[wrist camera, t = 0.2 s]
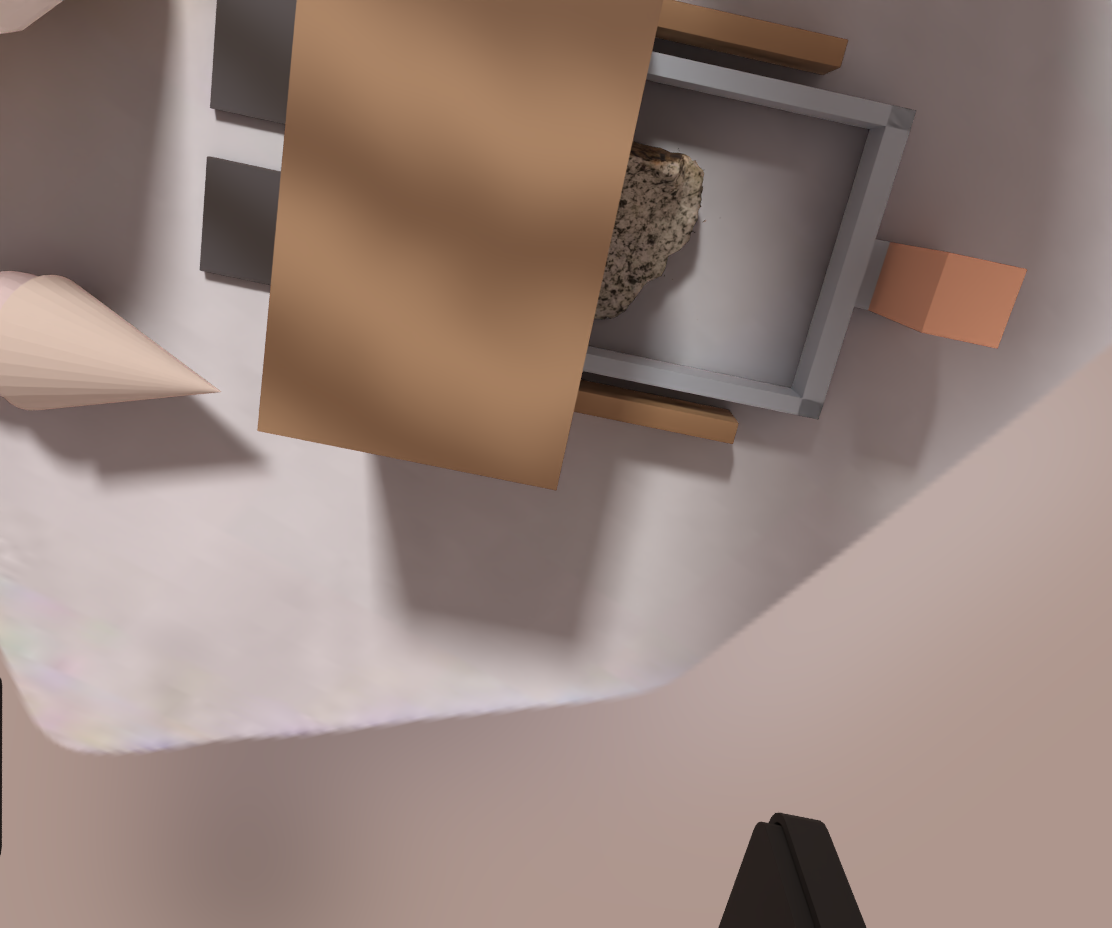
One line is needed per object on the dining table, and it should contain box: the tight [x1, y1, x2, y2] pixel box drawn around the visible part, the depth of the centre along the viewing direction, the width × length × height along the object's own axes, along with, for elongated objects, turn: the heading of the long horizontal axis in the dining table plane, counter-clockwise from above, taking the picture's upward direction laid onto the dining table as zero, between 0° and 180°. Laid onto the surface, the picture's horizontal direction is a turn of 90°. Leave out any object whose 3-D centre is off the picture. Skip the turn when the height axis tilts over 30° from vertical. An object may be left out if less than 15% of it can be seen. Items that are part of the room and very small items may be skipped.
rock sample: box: [594, 141, 706, 319], centre depth 35 cm, size 10×8×9 cm
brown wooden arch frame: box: [200, 0, 848, 490], centre depth 31 cm, size 17×26×13 cm, turn 78°
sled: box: [583, 52, 1027, 419], centre depth 34 cm, size 13×24×7 cm, turn 78°
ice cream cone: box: [0, 271, 221, 410], centre depth 36 cm, size 6×6×15 cm
